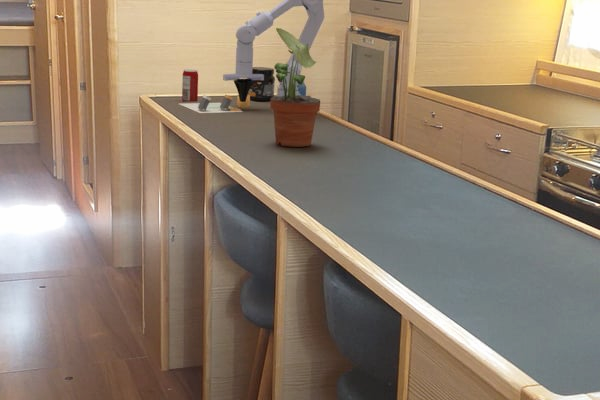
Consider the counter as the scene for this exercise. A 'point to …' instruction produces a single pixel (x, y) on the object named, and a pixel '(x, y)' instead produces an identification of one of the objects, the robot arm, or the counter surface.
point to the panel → (210, 108)
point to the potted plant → (294, 99)
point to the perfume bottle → (302, 89)
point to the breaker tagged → (226, 102)
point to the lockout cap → (243, 104)
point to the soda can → (190, 86)
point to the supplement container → (262, 85)
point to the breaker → (204, 103)
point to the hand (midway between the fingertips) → (242, 101)
